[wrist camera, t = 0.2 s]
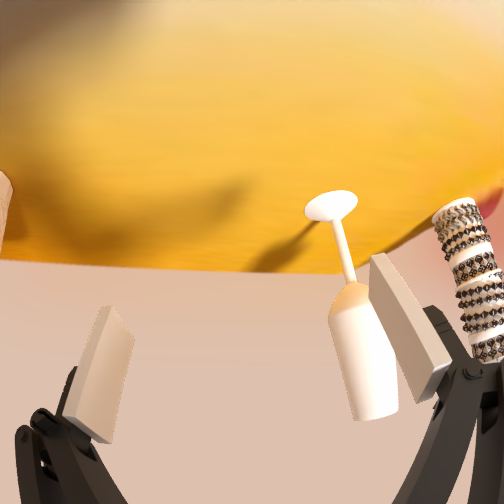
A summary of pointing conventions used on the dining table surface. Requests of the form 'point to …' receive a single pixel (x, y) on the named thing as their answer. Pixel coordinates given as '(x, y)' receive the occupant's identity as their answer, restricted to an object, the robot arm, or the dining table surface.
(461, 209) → the decorative candle
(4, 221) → the white cup
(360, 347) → the champagne flute
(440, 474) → the robot arm
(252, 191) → the dining table surface
